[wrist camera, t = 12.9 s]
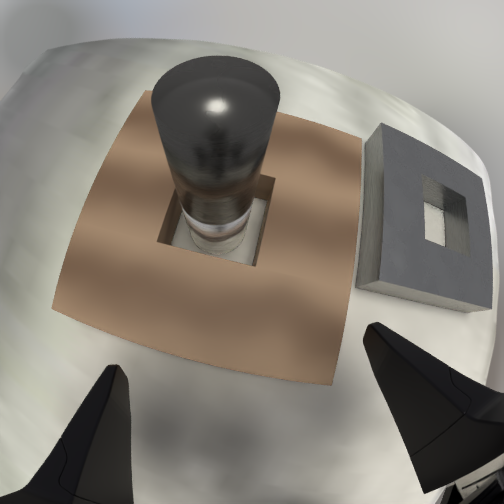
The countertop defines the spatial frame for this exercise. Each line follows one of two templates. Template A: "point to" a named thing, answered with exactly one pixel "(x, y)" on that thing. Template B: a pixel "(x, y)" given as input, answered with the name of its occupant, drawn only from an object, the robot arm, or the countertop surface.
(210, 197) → the dark rounded cylinder
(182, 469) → the countertop surface
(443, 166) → the socket block
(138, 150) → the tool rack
